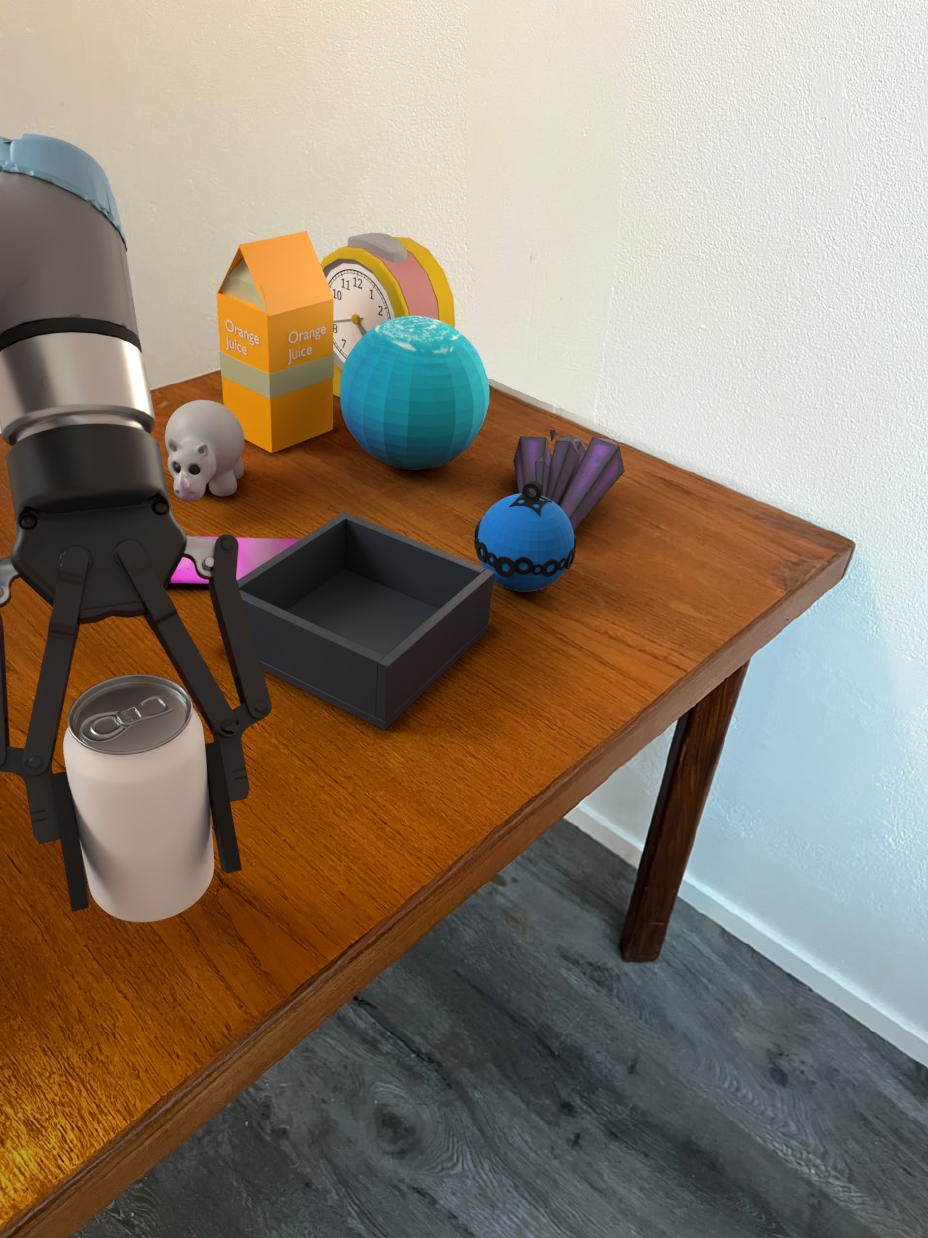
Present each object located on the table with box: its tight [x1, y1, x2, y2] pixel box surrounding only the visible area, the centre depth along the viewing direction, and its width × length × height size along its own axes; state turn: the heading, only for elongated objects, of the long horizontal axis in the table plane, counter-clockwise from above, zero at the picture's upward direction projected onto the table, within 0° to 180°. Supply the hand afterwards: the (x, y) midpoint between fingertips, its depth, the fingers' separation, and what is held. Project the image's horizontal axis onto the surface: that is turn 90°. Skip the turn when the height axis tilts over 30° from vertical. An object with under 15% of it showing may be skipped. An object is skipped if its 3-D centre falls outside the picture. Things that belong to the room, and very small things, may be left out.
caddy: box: [237, 511, 495, 731], centre depth 75 cm, size 15×15×6 cm
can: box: [62, 673, 215, 923], centre depth 49 cm, size 6×6×12 cm
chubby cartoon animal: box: [164, 399, 245, 503], centre depth 90 cm, size 7×12×8 cm, turn 176°
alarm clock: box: [320, 232, 456, 398], centre depth 109 cm, size 15×8×18 cm, turn 50°
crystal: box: [512, 429, 625, 532], centre depth 96 cm, size 7×12×20 cm
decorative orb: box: [339, 316, 490, 471], centre depth 97 cm, size 15×15×15 cm
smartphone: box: [168, 535, 301, 586], centre depth 83 cm, size 7×15×1 cm, turn 97°
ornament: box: [473, 481, 578, 593], centre depth 82 cm, size 9×9×10 cm
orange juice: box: [215, 230, 334, 454], centre depth 99 cm, size 8×9×20 cm
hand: (158, 887), depth 48 cm, fingers closed on can, 6 cm apart
